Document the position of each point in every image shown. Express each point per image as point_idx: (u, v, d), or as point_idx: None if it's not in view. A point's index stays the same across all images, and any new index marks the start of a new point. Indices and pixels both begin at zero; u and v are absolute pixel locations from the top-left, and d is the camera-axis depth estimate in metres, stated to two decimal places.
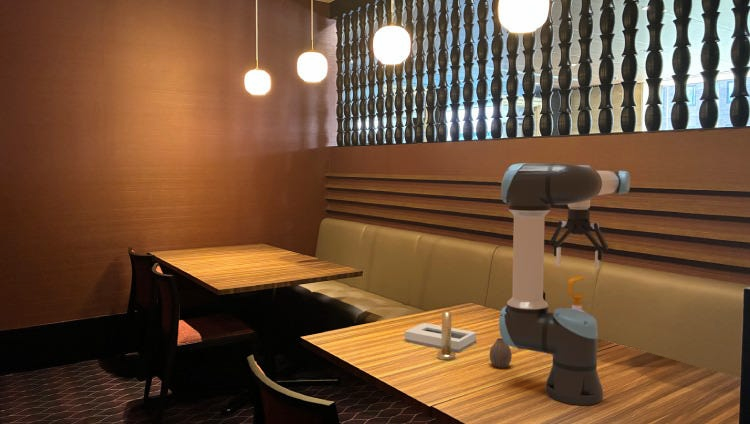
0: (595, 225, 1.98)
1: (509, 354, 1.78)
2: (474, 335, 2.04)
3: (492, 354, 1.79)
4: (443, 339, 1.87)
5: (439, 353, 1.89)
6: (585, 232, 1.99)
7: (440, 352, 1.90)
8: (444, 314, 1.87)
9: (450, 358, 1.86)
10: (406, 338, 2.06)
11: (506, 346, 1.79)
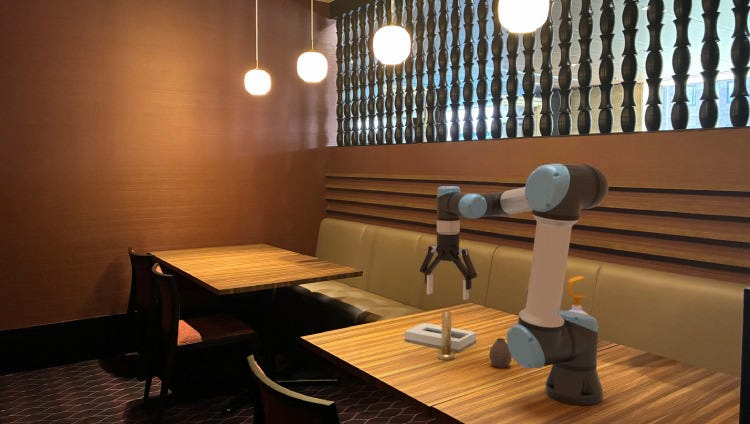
0: (463, 252, 1.82)
1: (509, 354, 1.78)
2: (474, 335, 2.04)
3: (492, 354, 1.79)
4: (443, 339, 1.87)
5: (439, 353, 1.89)
6: (453, 259, 1.84)
7: (440, 352, 1.90)
8: (444, 314, 1.87)
9: (450, 358, 1.86)
10: (406, 338, 2.06)
11: (506, 346, 1.79)
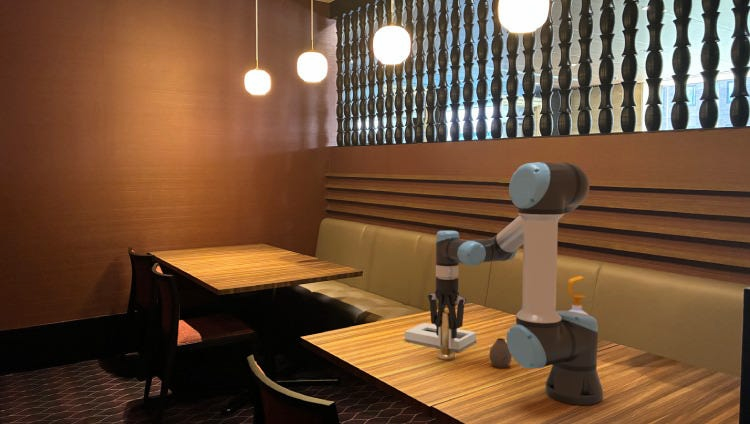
0: (460, 302, 1.83)
1: (509, 354, 1.78)
2: (474, 335, 2.04)
3: (492, 354, 1.79)
4: (443, 339, 1.87)
5: (439, 353, 1.89)
6: (449, 305, 1.85)
7: (440, 352, 1.90)
8: (444, 314, 1.87)
9: (450, 358, 1.86)
10: (406, 338, 2.06)
11: (506, 346, 1.79)
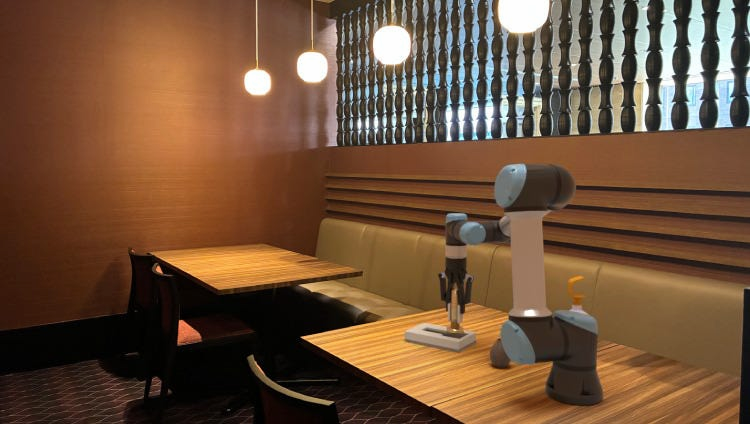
0: (469, 279, 1.96)
1: None
2: (474, 335, 2.04)
3: (492, 354, 1.79)
4: (452, 314, 2.01)
5: (448, 328, 2.02)
6: (457, 282, 1.99)
7: (449, 327, 2.03)
8: (453, 291, 2.00)
9: (459, 332, 2.00)
10: (406, 338, 2.06)
11: None
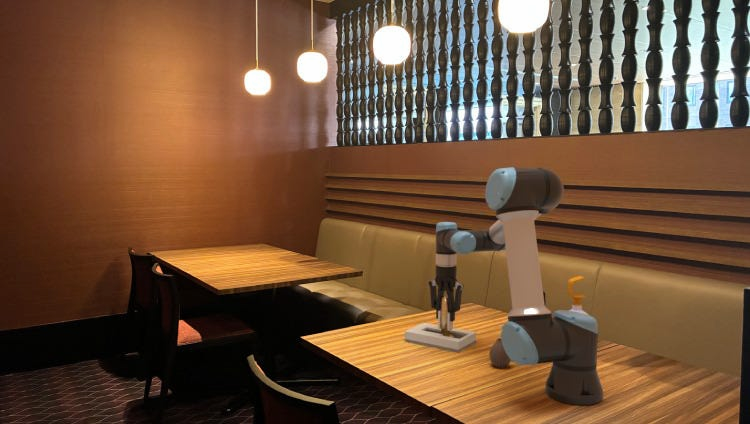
0: (458, 287, 1.99)
1: None
2: (474, 335, 2.04)
3: (492, 354, 1.79)
4: (442, 322, 2.03)
5: None
6: (447, 290, 2.01)
7: None
8: (443, 299, 2.03)
9: None
10: (406, 338, 2.06)
11: None
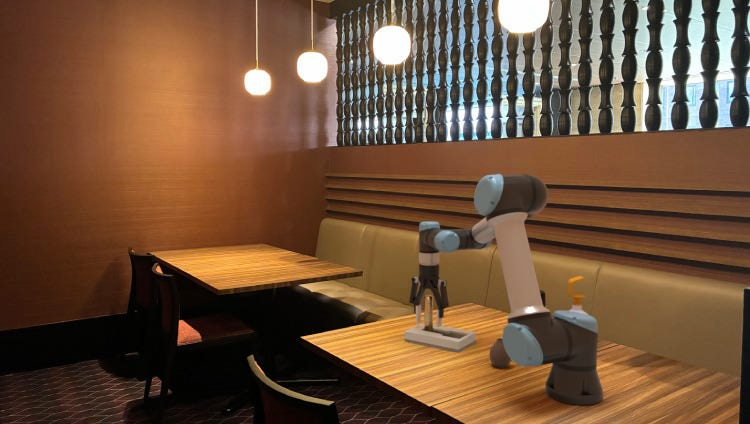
0: (441, 283, 2.03)
1: None
2: (474, 335, 2.04)
3: (492, 354, 1.79)
4: (425, 320, 2.07)
5: None
6: (432, 288, 2.05)
7: None
8: (426, 297, 2.07)
9: None
10: (406, 338, 2.06)
11: None
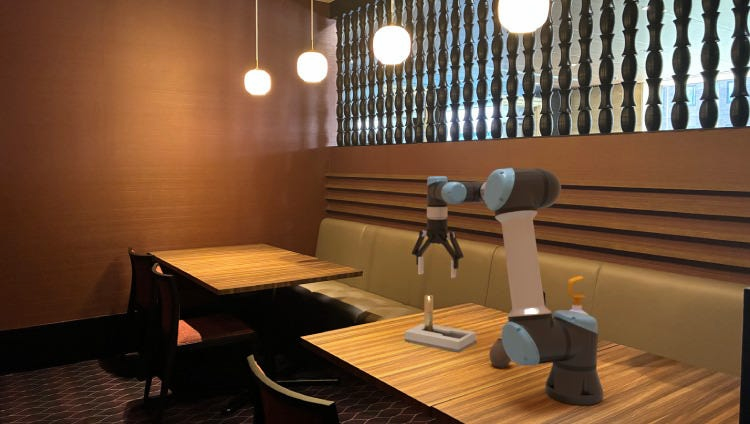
0: (450, 235, 2.02)
1: None
2: (474, 335, 2.04)
3: (492, 354, 1.79)
4: (425, 320, 2.07)
5: None
6: (442, 241, 2.04)
7: None
8: (426, 297, 2.07)
9: None
10: (406, 338, 2.06)
11: None
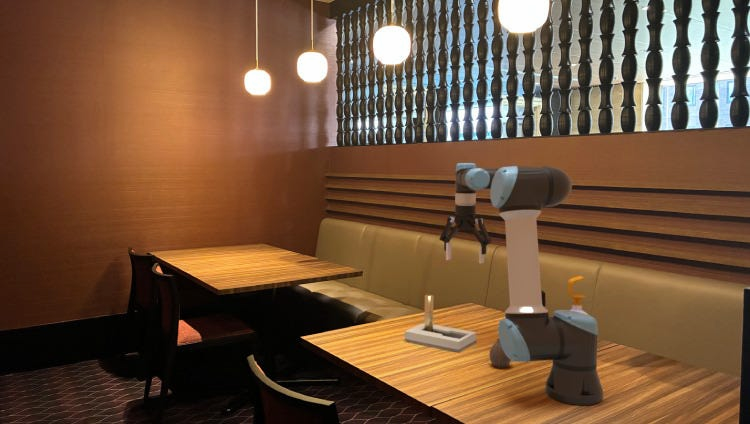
0: (479, 221, 2.05)
1: None
2: (474, 335, 2.04)
3: (492, 354, 1.79)
4: (426, 320, 2.07)
5: None
6: (470, 227, 2.07)
7: None
8: (427, 297, 2.07)
9: None
10: (406, 338, 2.06)
11: None
